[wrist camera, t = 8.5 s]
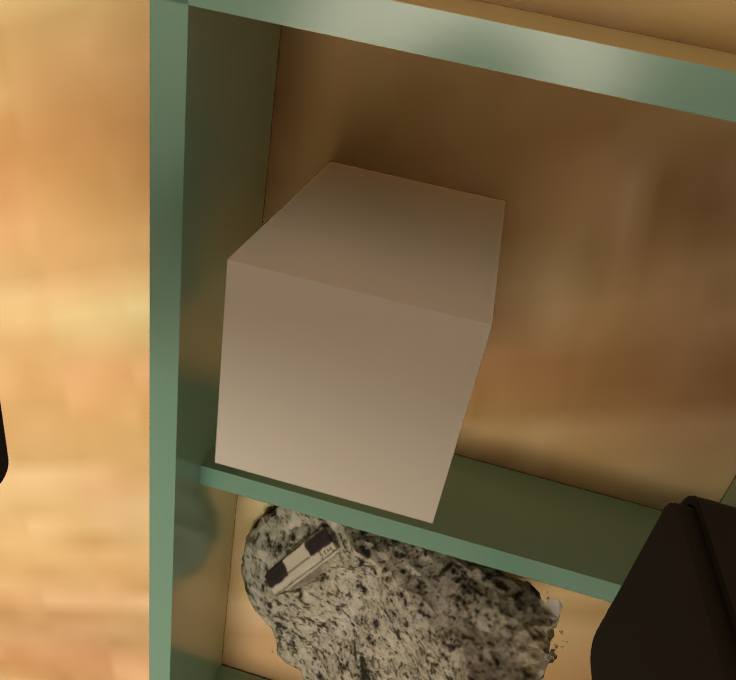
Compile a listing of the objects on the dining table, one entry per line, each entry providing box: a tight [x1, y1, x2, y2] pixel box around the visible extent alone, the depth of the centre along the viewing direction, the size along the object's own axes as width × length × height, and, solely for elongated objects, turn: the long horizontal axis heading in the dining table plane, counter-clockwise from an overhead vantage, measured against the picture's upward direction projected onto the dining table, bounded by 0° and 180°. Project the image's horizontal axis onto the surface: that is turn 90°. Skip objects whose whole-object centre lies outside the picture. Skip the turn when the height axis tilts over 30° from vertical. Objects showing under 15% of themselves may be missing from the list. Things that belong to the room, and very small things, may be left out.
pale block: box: [215, 162, 506, 523], centre depth 13 cm, size 4×4×6 cm
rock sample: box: [241, 506, 568, 680], centre depth 19 cm, size 10×8×9 cm
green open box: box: [149, 0, 736, 680], centre depth 17 cm, size 14×24×4 cm, turn 170°
